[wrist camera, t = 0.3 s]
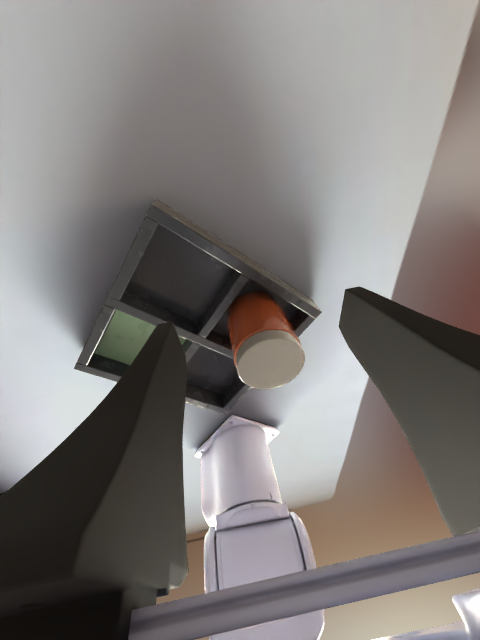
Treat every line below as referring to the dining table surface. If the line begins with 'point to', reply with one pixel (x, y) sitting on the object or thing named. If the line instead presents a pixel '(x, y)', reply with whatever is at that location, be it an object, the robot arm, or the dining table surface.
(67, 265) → the dining table surface
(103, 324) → the rack
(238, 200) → the dining table surface
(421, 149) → the dining table surface
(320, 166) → the dining table surface
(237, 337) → the jar
